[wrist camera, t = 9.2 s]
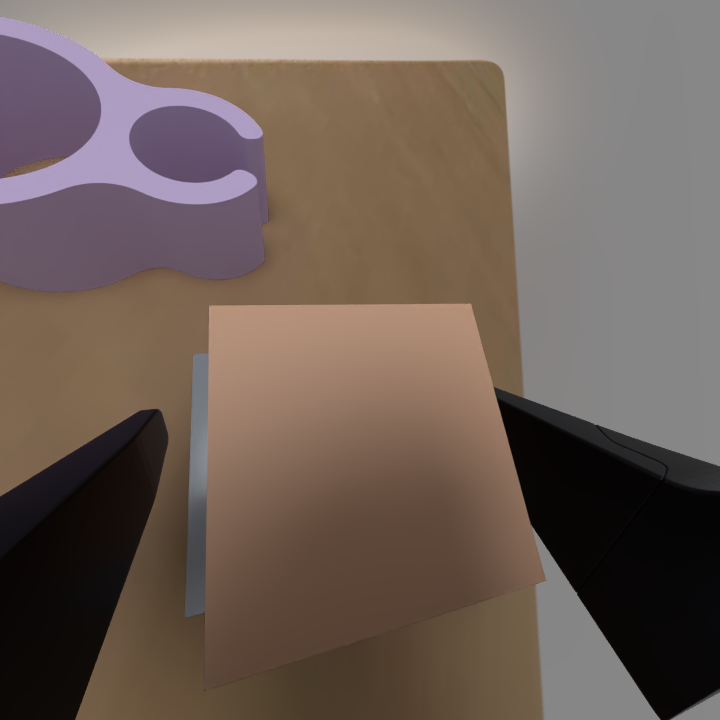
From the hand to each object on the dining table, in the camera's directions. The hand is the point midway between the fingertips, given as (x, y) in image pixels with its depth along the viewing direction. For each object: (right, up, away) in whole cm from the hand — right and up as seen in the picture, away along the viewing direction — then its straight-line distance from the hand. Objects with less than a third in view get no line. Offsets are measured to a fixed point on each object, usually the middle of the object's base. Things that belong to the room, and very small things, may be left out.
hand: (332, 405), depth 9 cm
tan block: (-2, -4, +7) cm, 8 cm away
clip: (-16, +11, +12) cm, 23 cm away
